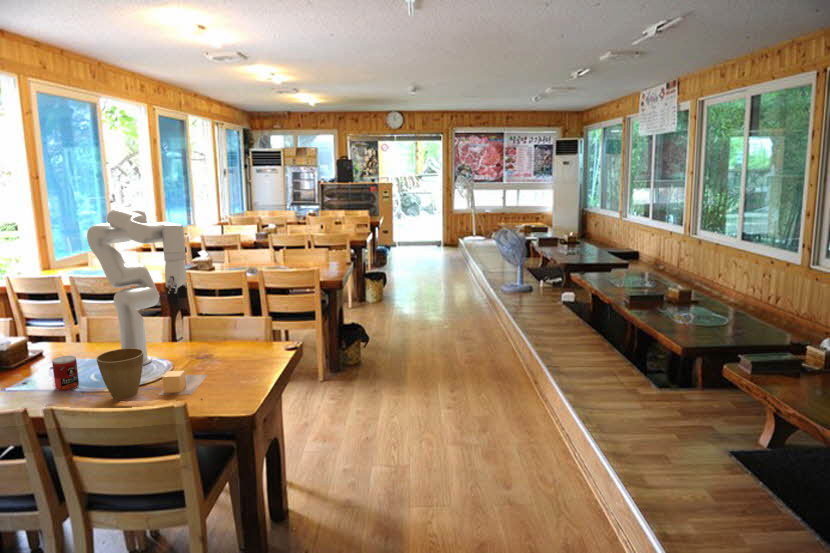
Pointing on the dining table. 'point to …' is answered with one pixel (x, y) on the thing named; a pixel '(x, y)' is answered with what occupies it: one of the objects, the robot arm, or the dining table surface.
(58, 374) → the canned food
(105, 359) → the plant pot
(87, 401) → the dining table surface
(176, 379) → the wooden block
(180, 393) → the junction board
